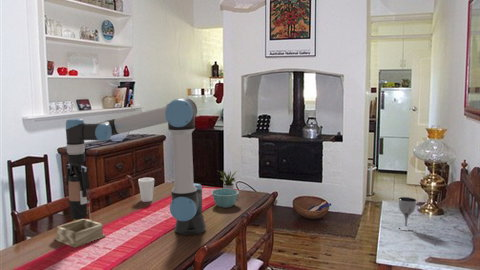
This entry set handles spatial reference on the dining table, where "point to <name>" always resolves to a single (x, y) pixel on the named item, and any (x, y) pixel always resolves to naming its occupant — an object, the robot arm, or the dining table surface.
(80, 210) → the travel mug
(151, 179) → the foam cup
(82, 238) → the caddy
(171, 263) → the dining table surface
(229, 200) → the bowl
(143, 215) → the dining table surface
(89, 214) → the canned food
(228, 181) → the house plant
